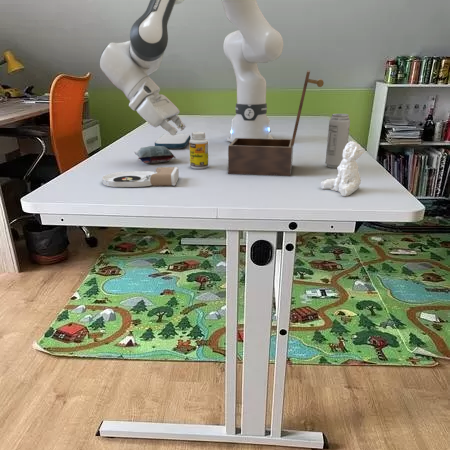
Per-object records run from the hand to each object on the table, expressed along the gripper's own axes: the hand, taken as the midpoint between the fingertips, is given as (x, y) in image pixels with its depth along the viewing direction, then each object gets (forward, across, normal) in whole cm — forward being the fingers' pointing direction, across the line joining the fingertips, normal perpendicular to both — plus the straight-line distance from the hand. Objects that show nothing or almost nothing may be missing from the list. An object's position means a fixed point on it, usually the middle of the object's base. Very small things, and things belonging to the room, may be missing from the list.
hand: (179, 131), depth 136 cm
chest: (+25, 0, +10) cm, 27 cm away
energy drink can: (+40, -8, +26) cm, 49 cm away
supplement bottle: (+12, 0, -4) cm, 12 cm away
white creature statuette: (+41, +20, +26) cm, 53 cm away
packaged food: (0, -6, -15) cm, 16 cm away
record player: (+3, +20, -12) cm, 24 cm away
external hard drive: (-3, -38, -16) cm, 41 cm away
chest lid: (+20, 0, +30) cm, 35 cm away
